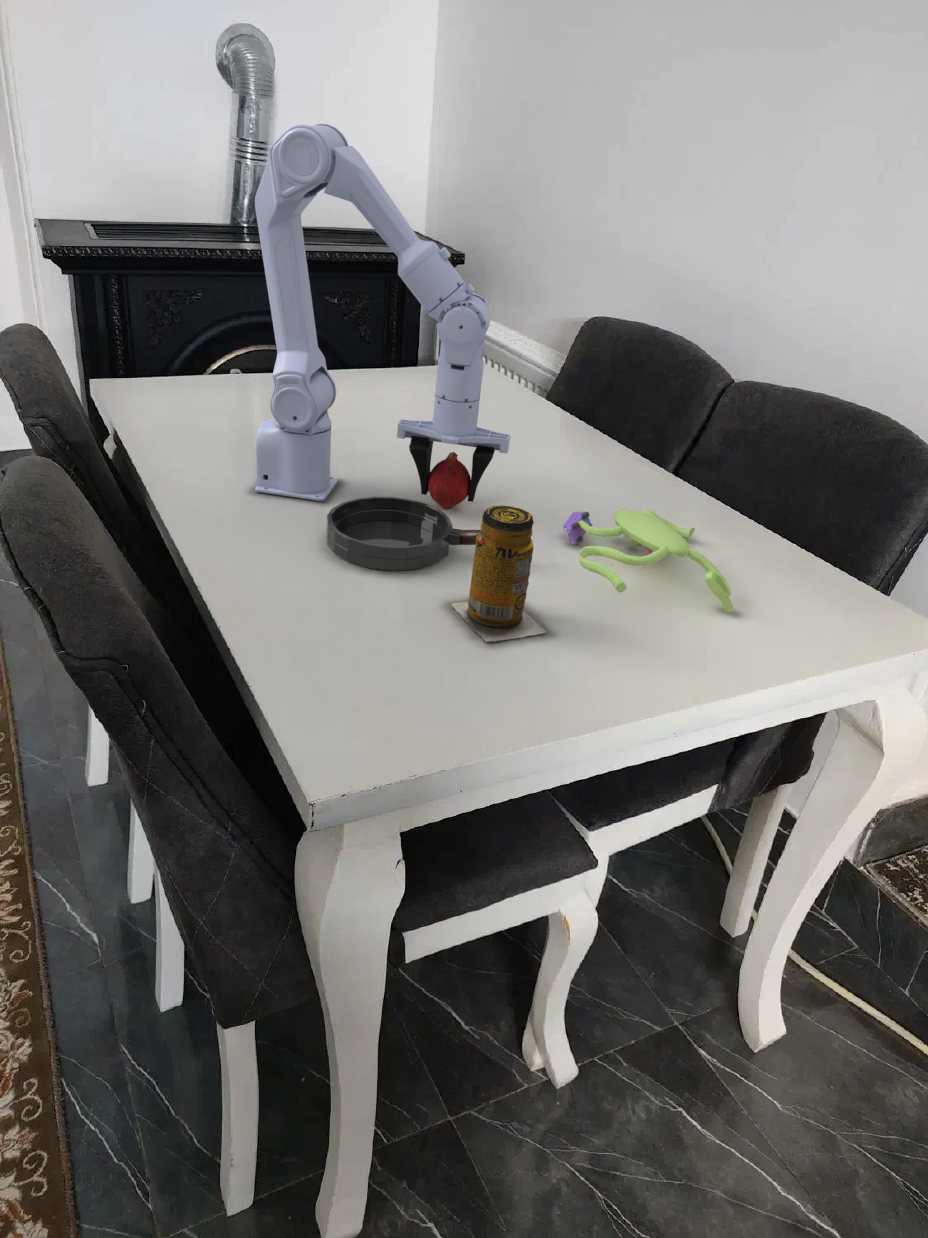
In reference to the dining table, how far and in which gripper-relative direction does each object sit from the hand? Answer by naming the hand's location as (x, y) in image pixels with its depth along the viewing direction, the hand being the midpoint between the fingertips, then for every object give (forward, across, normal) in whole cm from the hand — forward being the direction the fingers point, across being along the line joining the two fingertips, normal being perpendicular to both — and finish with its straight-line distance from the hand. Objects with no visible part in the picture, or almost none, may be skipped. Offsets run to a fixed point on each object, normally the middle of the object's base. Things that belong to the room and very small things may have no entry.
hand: (447, 495), depth 123 cm
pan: (+2, -5, -14) cm, 15 cm away
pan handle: (0, +7, -14) cm, 16 cm away
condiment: (+2, +10, -28) cm, 30 cm away
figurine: (+2, +26, -10) cm, 28 cm away
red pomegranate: (+2, 0, 0) cm, 2 cm away
